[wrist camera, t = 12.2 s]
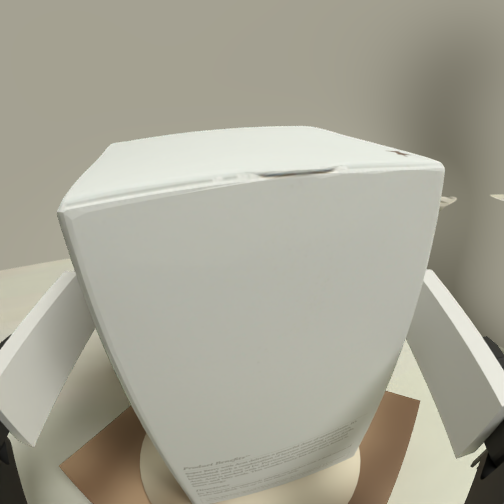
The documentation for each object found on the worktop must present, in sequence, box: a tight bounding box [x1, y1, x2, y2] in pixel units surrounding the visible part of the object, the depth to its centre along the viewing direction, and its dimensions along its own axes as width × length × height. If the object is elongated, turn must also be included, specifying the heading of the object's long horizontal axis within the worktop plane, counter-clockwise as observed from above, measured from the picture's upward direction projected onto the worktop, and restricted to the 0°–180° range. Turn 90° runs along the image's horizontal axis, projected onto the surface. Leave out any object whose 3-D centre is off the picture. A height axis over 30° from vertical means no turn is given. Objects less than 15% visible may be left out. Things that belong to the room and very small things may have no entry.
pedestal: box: [59, 391, 420, 504], centre depth 15 cm, size 16×16×4 cm
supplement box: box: [57, 126, 445, 504], centre depth 13 cm, size 9×9×15 cm
